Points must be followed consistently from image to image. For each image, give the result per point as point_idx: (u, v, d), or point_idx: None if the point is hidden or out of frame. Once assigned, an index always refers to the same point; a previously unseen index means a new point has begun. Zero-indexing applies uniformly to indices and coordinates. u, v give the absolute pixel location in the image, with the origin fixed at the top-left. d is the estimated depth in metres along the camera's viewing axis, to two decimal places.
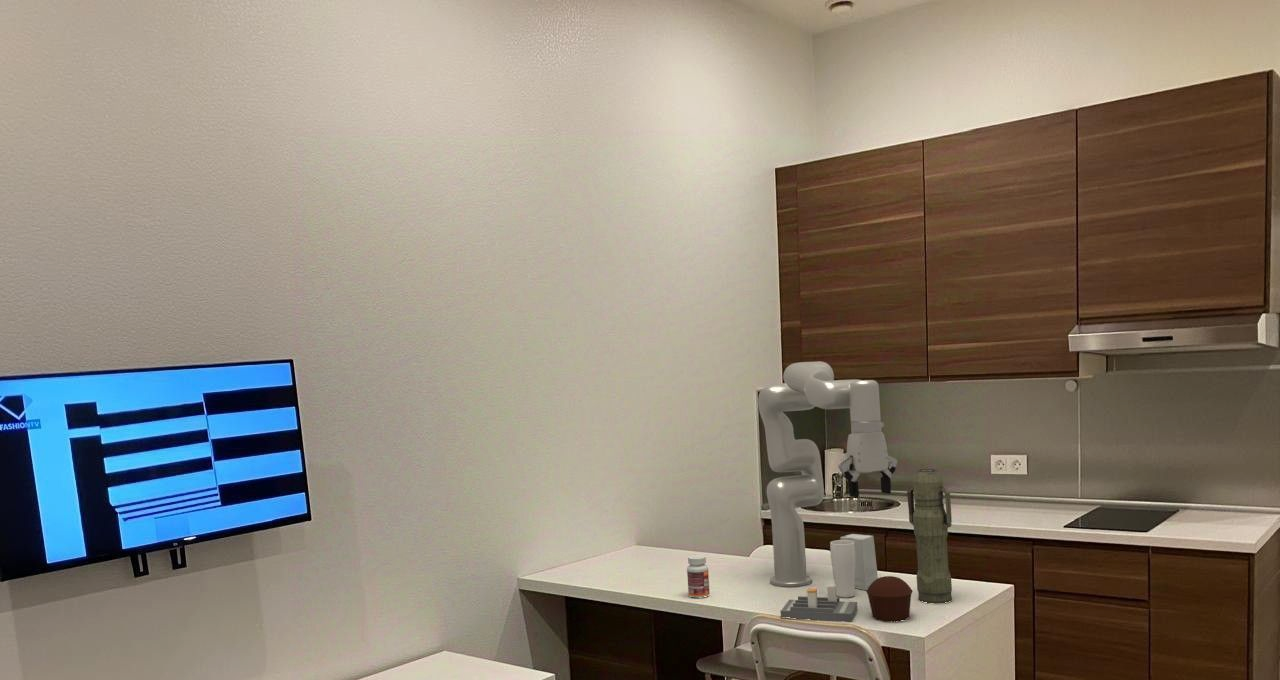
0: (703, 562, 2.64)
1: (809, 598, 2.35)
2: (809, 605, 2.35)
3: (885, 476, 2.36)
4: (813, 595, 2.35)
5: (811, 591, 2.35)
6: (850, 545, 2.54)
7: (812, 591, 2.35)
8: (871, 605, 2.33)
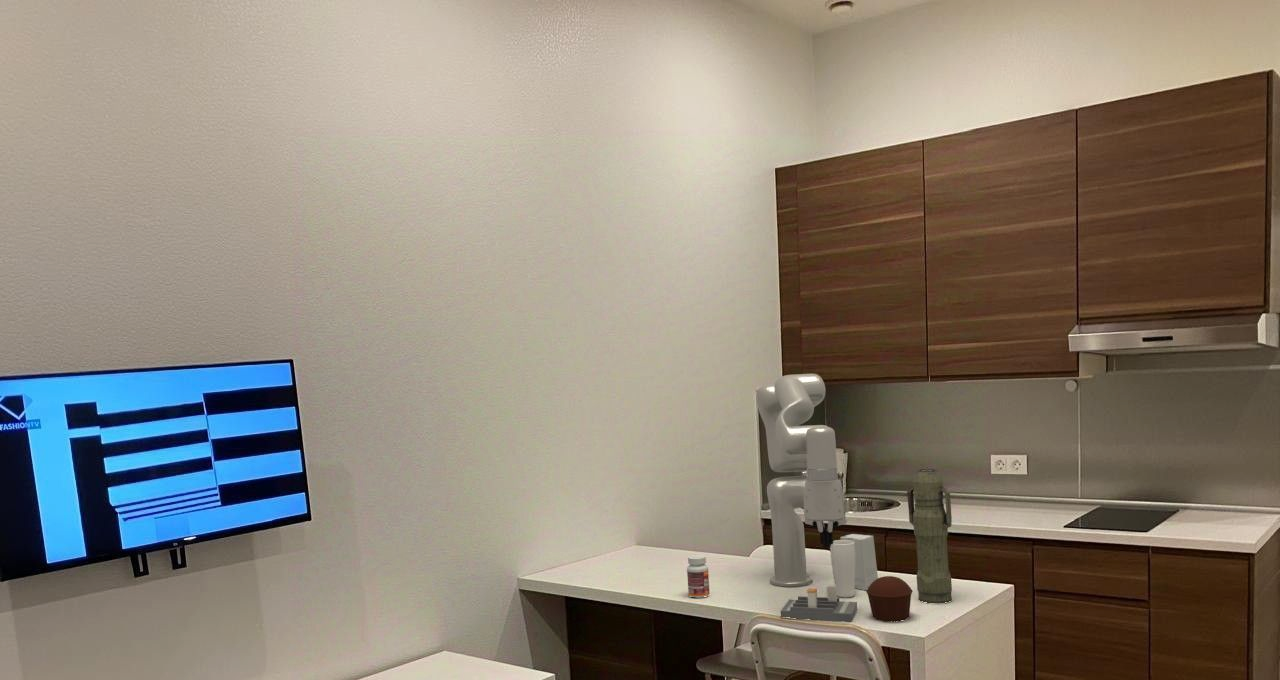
0: (703, 562, 2.64)
1: (809, 598, 2.35)
2: (809, 605, 2.35)
3: (825, 529, 2.36)
4: (813, 595, 2.35)
5: (811, 591, 2.35)
6: (850, 545, 2.54)
7: (812, 591, 2.35)
8: (871, 605, 2.33)
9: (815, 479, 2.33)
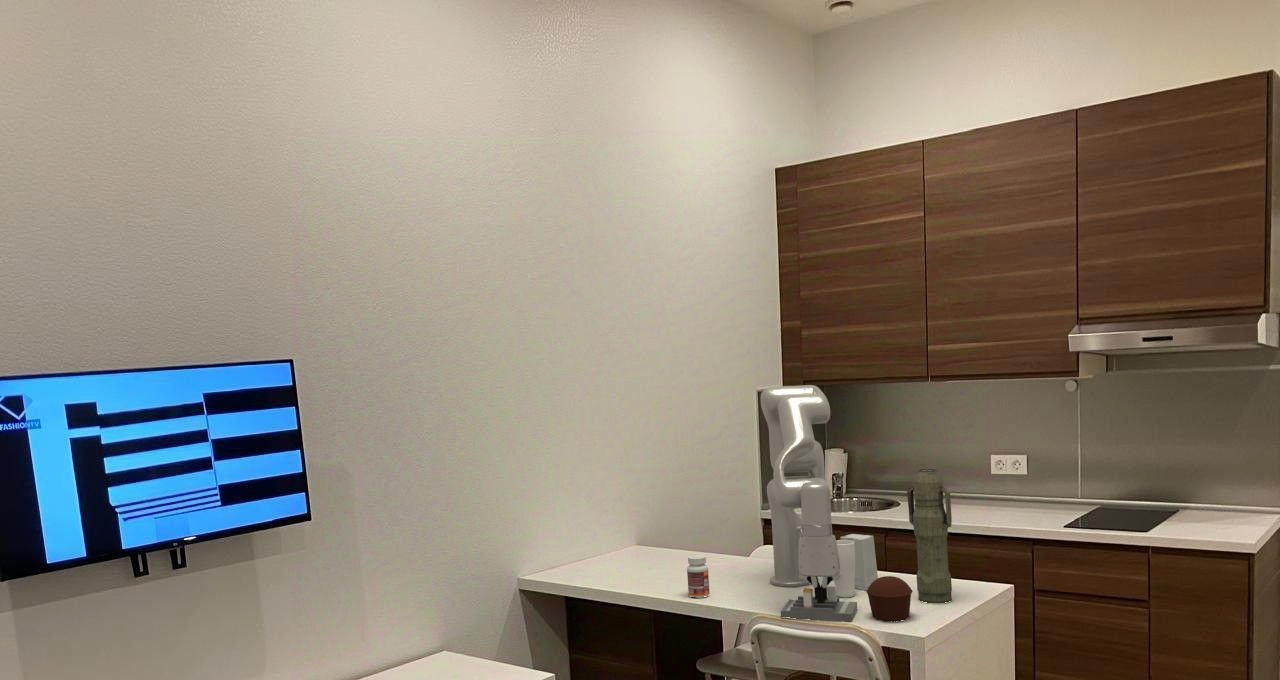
0: (703, 562, 2.64)
1: (805, 598, 2.36)
2: (805, 605, 2.36)
3: (819, 584, 2.36)
4: (809, 595, 2.35)
5: (806, 590, 2.36)
6: (850, 545, 2.54)
7: (808, 591, 2.36)
8: (871, 605, 2.33)
9: (810, 535, 2.33)
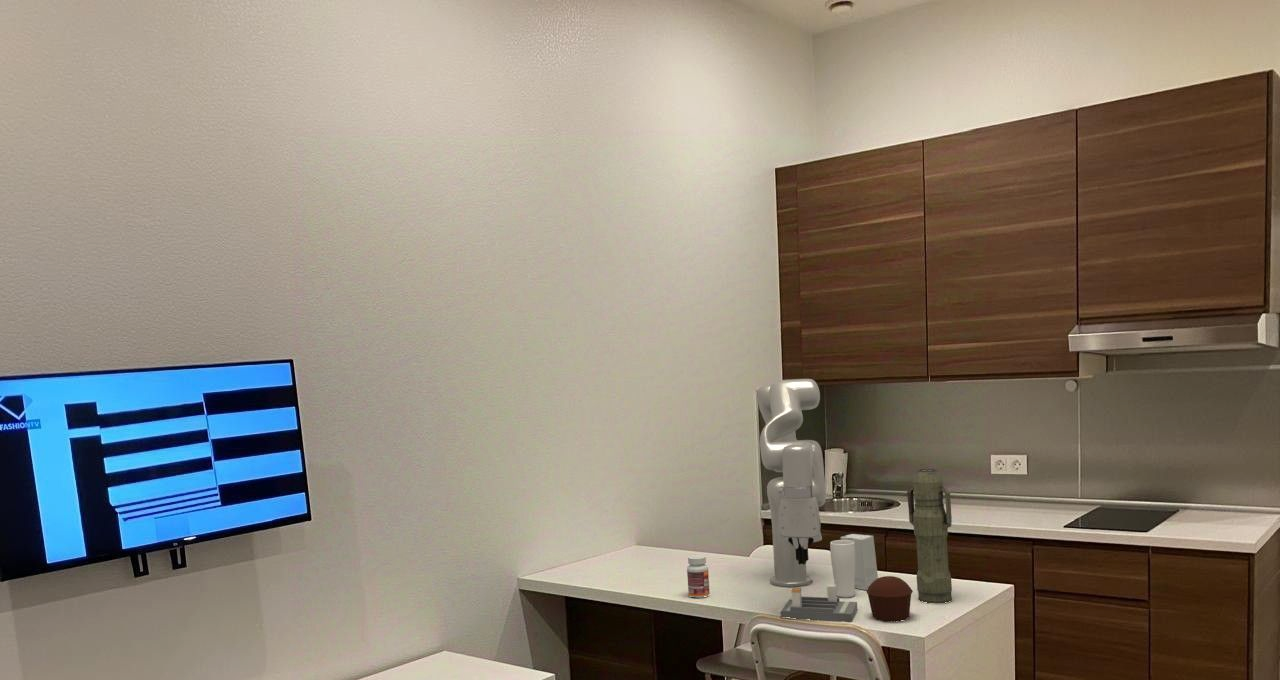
0: (703, 562, 2.64)
1: (793, 597, 2.37)
2: (793, 604, 2.37)
3: (800, 546, 2.38)
4: (797, 594, 2.36)
5: (795, 590, 2.37)
6: (850, 545, 2.54)
7: (796, 590, 2.37)
8: (871, 605, 2.33)
9: (791, 497, 2.35)
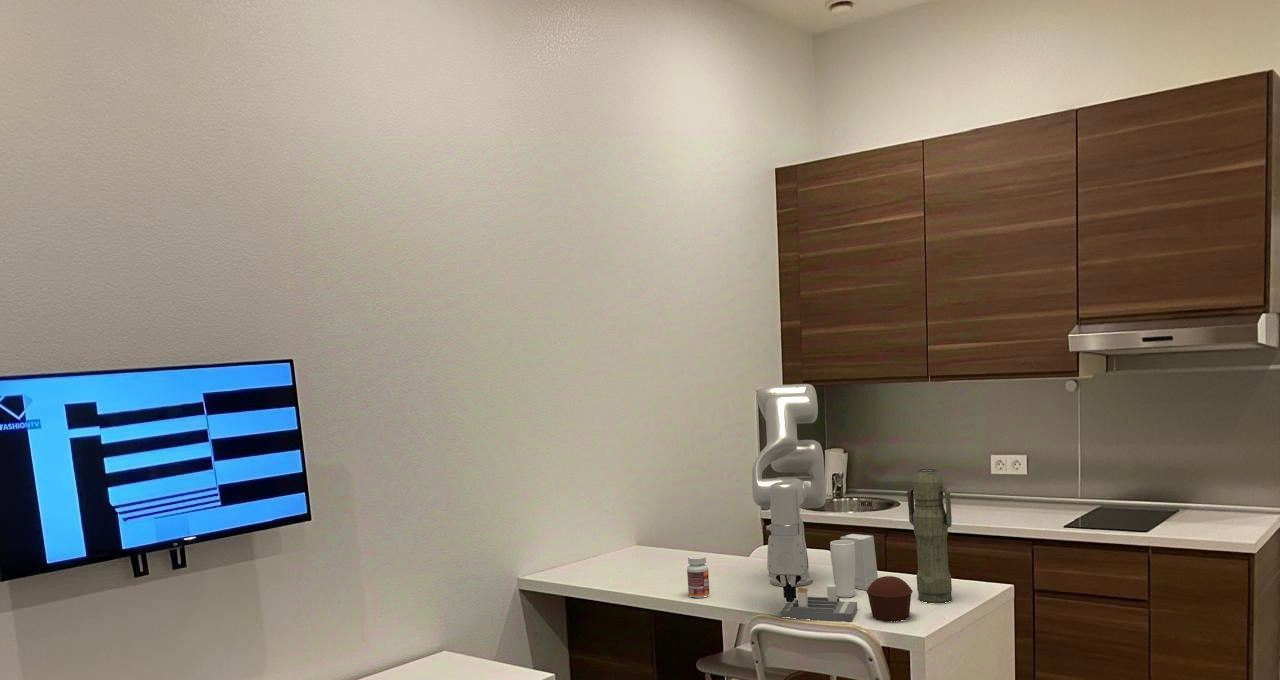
0: (703, 562, 2.64)
1: (799, 598, 2.36)
2: (799, 605, 2.36)
3: (788, 583, 2.39)
4: (803, 595, 2.36)
5: (801, 590, 2.36)
6: (850, 545, 2.54)
7: (802, 591, 2.36)
8: (871, 605, 2.33)
9: (778, 534, 2.36)
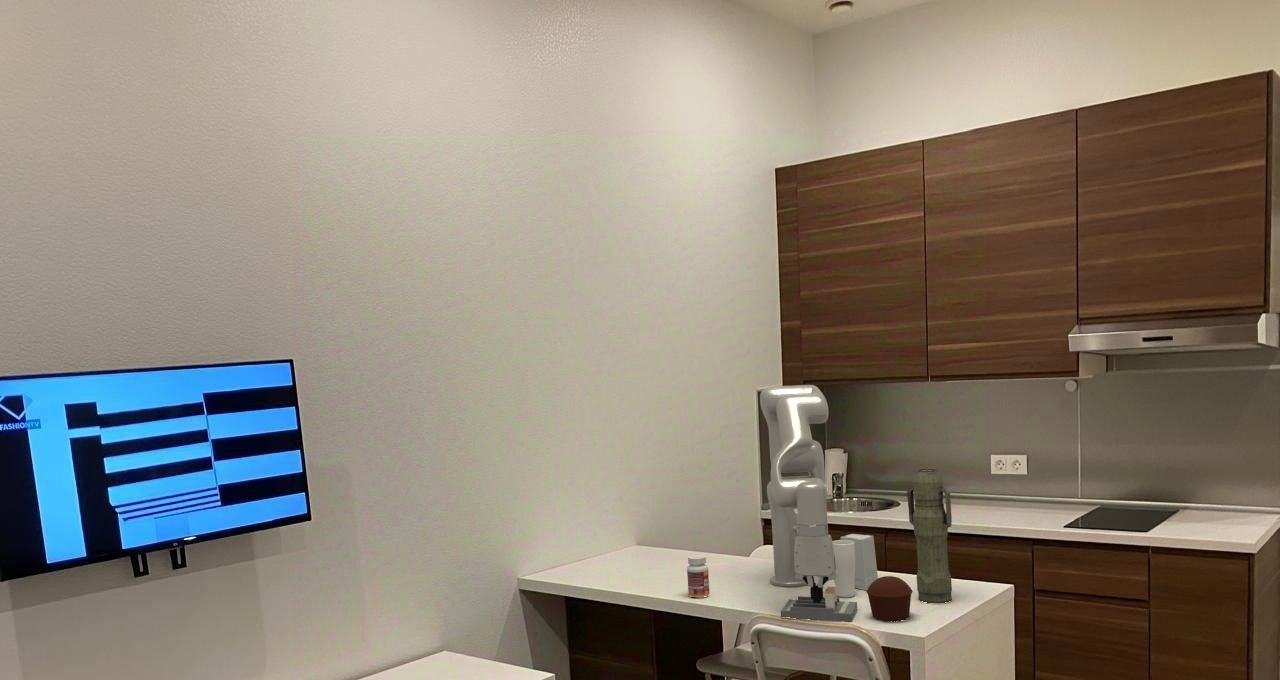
0: (703, 562, 2.64)
1: (827, 599, 2.34)
2: (827, 606, 2.34)
3: (815, 584, 2.37)
4: (831, 596, 2.34)
5: (828, 591, 2.34)
6: (850, 545, 2.54)
7: (830, 592, 2.34)
8: (871, 605, 2.33)
9: (805, 535, 2.34)
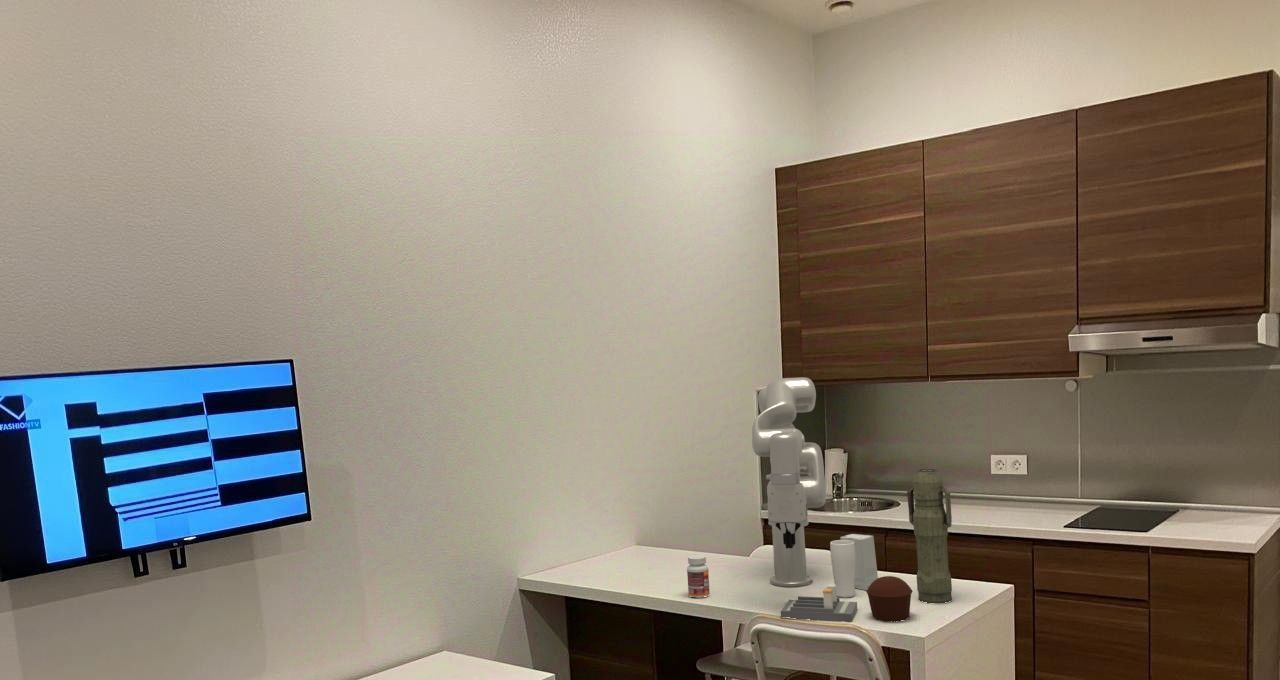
0: (703, 562, 2.64)
1: (825, 599, 2.34)
2: (825, 606, 2.34)
3: (788, 530, 2.45)
4: (829, 596, 2.34)
5: (826, 591, 2.34)
6: (850, 545, 2.54)
7: (828, 592, 2.34)
8: (871, 605, 2.33)
9: (778, 483, 2.42)
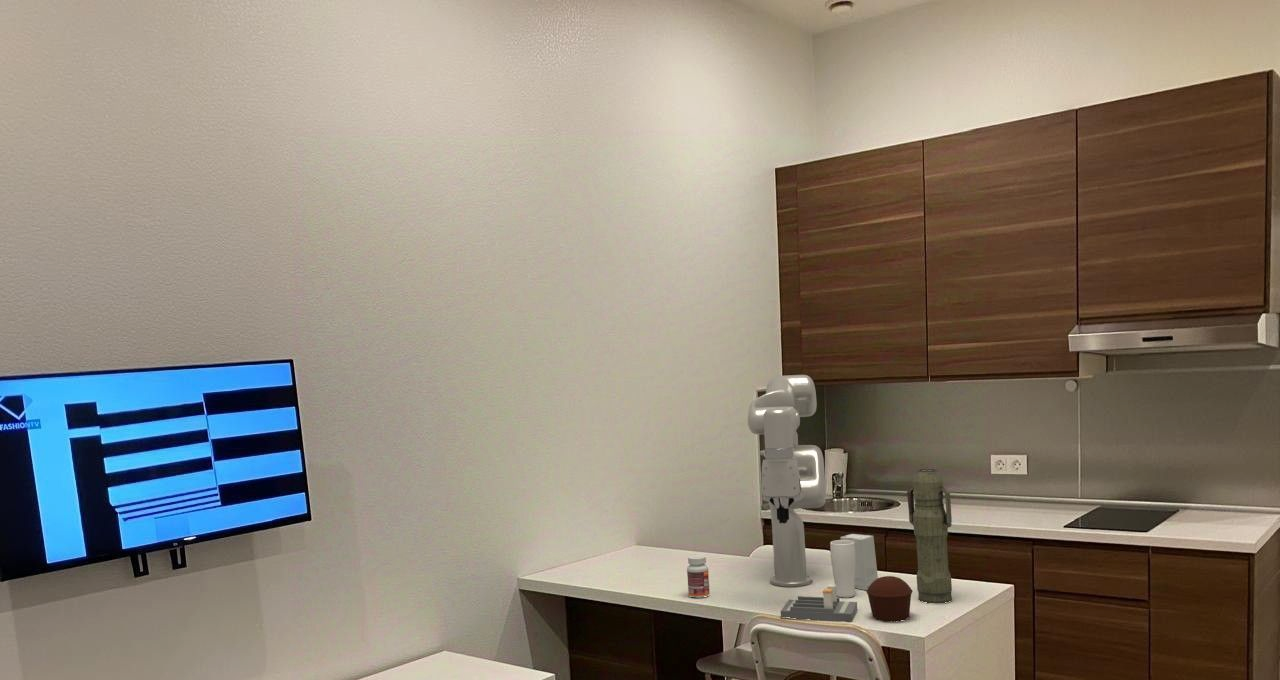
0: (703, 562, 2.64)
1: (825, 599, 2.34)
2: (825, 606, 2.34)
3: (781, 506, 2.48)
4: (829, 596, 2.34)
5: (826, 591, 2.34)
6: (850, 545, 2.54)
7: (828, 592, 2.34)
8: (871, 605, 2.33)
9: (772, 458, 2.45)
